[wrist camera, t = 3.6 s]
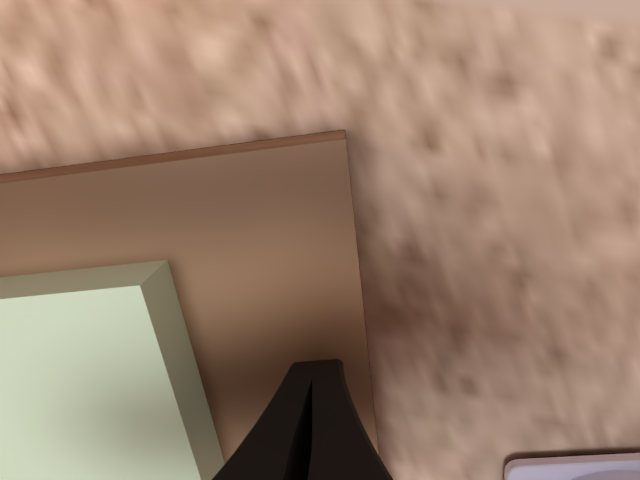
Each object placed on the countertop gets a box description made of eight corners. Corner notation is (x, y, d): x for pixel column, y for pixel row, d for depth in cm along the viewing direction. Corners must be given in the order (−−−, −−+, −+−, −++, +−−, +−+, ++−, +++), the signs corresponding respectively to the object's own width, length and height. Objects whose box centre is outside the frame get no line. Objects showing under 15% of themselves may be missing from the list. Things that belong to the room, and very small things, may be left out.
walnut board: (381, 487, 17) (390, 565, 14) (78, 501, 18) (30, 575, 15) (344, 129, 12) (345, 138, 9) (-71, 184, 13) (-184, 207, 10)
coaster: (229, 481, 13) (215, 527, 12) (8, 492, 14) (-30, 537, 12) (167, 260, 10) (140, 285, 9) (-104, 288, 11) (-169, 315, 10)
